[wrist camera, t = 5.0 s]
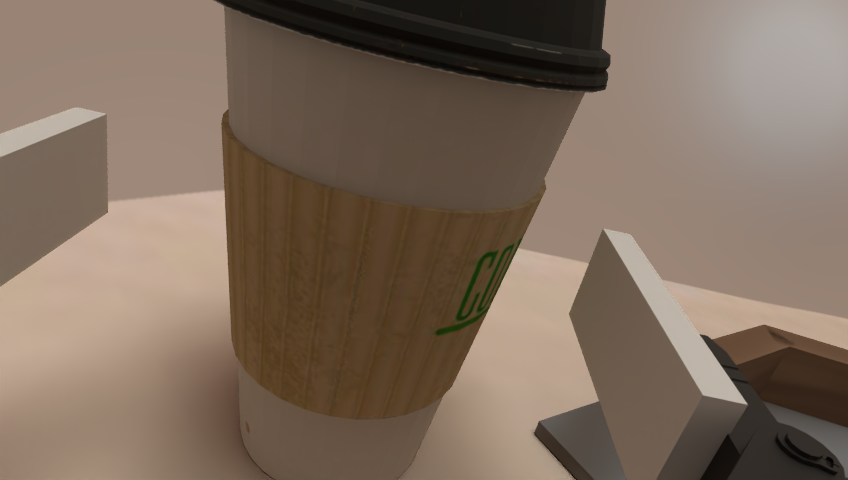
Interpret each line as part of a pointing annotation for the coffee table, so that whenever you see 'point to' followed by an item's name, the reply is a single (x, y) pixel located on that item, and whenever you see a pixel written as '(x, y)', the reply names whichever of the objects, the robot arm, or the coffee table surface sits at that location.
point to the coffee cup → (381, 205)
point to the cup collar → (764, 370)
